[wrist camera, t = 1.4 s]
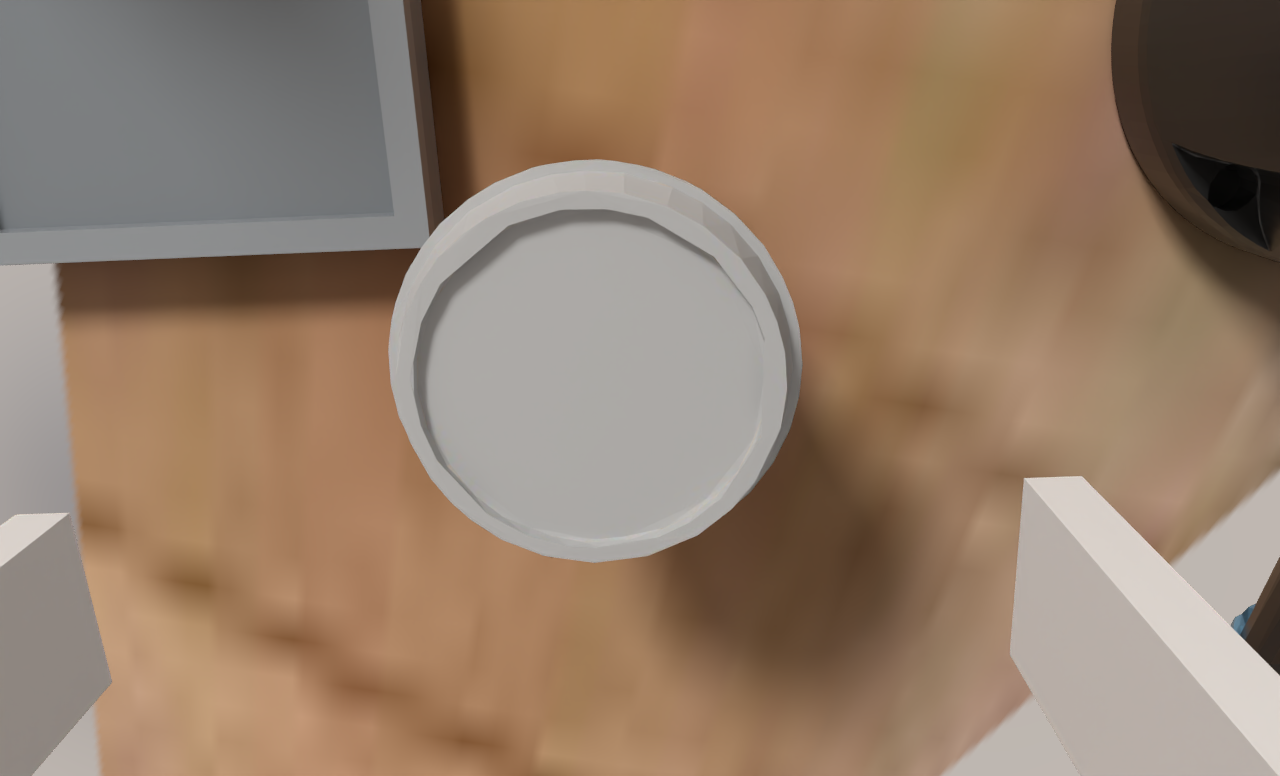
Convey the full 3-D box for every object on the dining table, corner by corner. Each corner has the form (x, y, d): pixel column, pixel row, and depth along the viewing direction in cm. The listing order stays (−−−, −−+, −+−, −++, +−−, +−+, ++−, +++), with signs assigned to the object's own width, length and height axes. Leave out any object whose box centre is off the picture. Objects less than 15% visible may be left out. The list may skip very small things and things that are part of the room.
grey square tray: (389, -297, 28) (366, -326, 26) (445, 234, 33) (430, 247, 31) (-130, -266, 29) (-195, -292, 27) (0, 253, 34) (-47, 267, 31)
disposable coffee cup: (667, 454, 35) (670, 645, 24) (424, 323, 34) (305, 460, 23) (814, 219, 33) (897, 310, 21) (556, 67, 31) (496, 76, 20)
